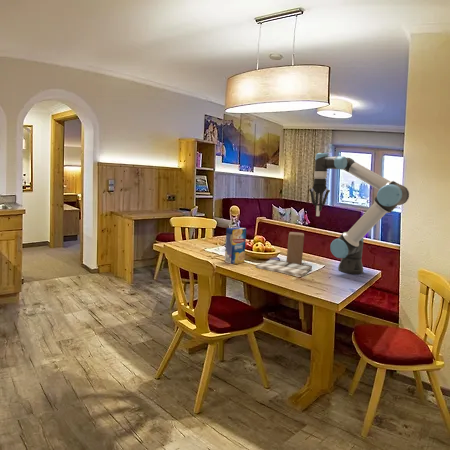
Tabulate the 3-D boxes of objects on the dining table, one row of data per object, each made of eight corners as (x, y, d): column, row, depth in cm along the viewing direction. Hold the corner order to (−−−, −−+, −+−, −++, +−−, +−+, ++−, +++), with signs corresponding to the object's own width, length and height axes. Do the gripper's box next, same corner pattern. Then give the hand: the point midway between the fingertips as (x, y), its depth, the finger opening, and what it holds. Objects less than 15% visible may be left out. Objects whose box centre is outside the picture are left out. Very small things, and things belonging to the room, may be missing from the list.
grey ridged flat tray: (307, 273, 241) (307, 270, 241) (301, 276, 233) (301, 273, 233) (262, 264, 257) (262, 262, 256) (255, 267, 248) (255, 265, 248)
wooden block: (301, 265, 262) (304, 235, 259) (286, 263, 264) (288, 233, 261) (301, 261, 272) (304, 232, 269) (287, 260, 274) (289, 231, 271)
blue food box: (244, 262, 261) (246, 228, 258) (231, 263, 254) (233, 229, 251) (237, 259, 266) (239, 227, 263) (224, 261, 260) (226, 227, 257)
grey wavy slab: (311, 268, 250) (311, 266, 250) (306, 272, 243) (306, 269, 243) (292, 265, 257) (292, 262, 257) (286, 268, 250) (286, 265, 249)
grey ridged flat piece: (289, 264, 258) (289, 262, 258) (283, 268, 251) (283, 265, 250) (271, 261, 265) (271, 258, 264) (265, 264, 257) (265, 261, 257)
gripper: (332, 178, 249) (329, 216, 252) (311, 178, 256) (309, 214, 259) (329, 178, 243) (326, 217, 246) (308, 177, 249) (305, 215, 252)
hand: (317, 216), depth 252 cm, fingers closed
